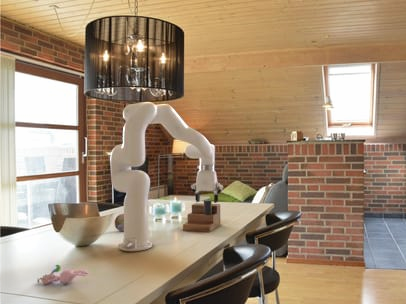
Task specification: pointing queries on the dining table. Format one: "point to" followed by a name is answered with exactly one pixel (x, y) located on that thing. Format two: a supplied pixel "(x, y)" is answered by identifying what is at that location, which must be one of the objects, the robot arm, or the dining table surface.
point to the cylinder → (207, 207)
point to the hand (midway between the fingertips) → (206, 202)
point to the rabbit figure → (61, 276)
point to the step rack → (202, 219)
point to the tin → (119, 222)
